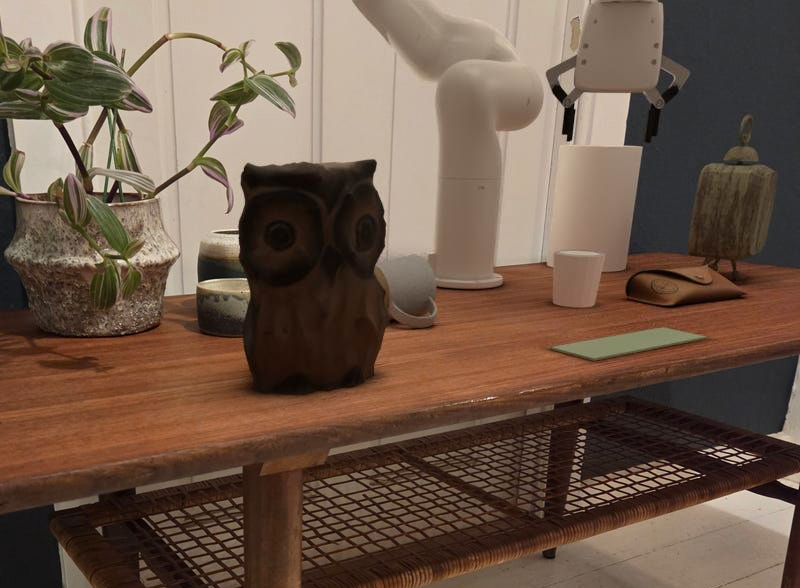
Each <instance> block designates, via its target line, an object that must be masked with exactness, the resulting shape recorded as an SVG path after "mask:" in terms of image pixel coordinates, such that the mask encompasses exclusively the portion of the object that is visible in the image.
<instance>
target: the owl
mask: <svg viewBox="0 0 800 588" xmlns="http://www.w3.org/2000/svg"><path fill="white" fill-rule="evenodd" d="M377 166H378V162H377V159H375V158H368V159H360V160H356V161H349V162H348V161H346V162H337V161H330V162H320V163H319V162H317V163H313V162H308V161H300V162H291V163H284V164H281V165H280V164H273V163H272V164H267V165H261V166H260V165H256V164H253V163H250V162H247V163H245V165H244V166H243V171H241V173H240V183H239V185H240V187H241V190H242V193H243V198H244V205H243V208H242V211H241V214H240V216H239V219H238V224H237V229H238V246H239V253H238V261H239V264H240V266H241V267H242V269H243V272H244V274H245V278H246V281H247V286H248V288H249V301H248V305H247V308H246V312H245V316H244V320H243V331H242V341H243V342H242V343H243V350H244V355H245V359H246V362H247V366H248V369H249V372H250V375H251V377H252V387H253V389H254V390H255V391H256V392H258V393H261V394H275V395H294V396H298V395H308V394H311V393H314V392H317V391H318V392H319V391H325V392H329V391H333V390H335V389H339V388H344V387H346V388H354V387H356V386H358V385H361V384H364V383H365V381H366V380H367V379H368V378H370V377H372V376H374V375H375V364H376V361H377V358H378V355H379V353H380V352H381V349H382V346H383V345H382V344H383V340H384V337H385V333H386V329H387V327H388V326H389V324H390V321H391V320H390V318H389V314H388V309H387V307H386V306H385V299H384V298H385V295H386V291H385V290H384V288H383V287H382V286H381V284H380V282H378V280H377V278H376V276H375V274H374V268H375V265H376V263H377V261H379V259H380V257H381V255H382V253H383V252H384V250H385V248H386V237H387V222H386V220H385V208H384V204H383V201H382V199H381V197H380V193H379V191H378V190H377V189H376V187H375V185H374V178H375V177H374V176H375V173H376V171H377Z"/></svg>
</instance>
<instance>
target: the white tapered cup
mask: <svg viewBox="0 0 800 588" xmlns="http://www.w3.org/2000/svg"><path fill="white" fill-rule="evenodd" d="M604 260H605V254H604V253H600V252H596V251H588V250H560V251H555V252H554V264H553V267H552V268H553V270H552V271H553V272H552V273H553V274H552V304H554V305H556V306H560V307H566V308H578V309H579V308H591V307H594V306H595V305H596V300H597V295H598V290H599V286H600V282H601V277H602V273H603V272H602V269H603V264H604Z"/></svg>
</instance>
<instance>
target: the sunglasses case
mask: <svg viewBox="0 0 800 588" xmlns="http://www.w3.org/2000/svg"><path fill="white" fill-rule="evenodd" d="M624 292H625V296H626V297H627V299H628V300H632V301H635V302H638V303H642V304H647V305H653V306H663V307H664V306H665V307H666V306H668V307H669V306H670V307H671V306H672V307H673V306H677V305H682V304H694V303H696V304H697V303H705V302H717V301H719V302H720V301H724V300H725V301H726V300H730V299H735V298H739V297H742V296H746V295H749V292H747V291H745V290H744V289H743V288H741V287H740V286H738V285H736V284H735V283H733V282H732V281H730V280H729V279H728V278H726V277H725V276H723V275H722V274H720V273H718V271H714V270H712V269H711V265H710V263H709V264H707V265H705V266H688V267H675V268H668V269H663V268H649V269H643V270H639V271H637V272H635V273H634V274H631V276H630V277H629V278H628V279H627V281H626V284H625V290H624Z"/></svg>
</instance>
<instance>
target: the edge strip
mask: <svg viewBox="0 0 800 588" xmlns="http://www.w3.org/2000/svg"><path fill="white" fill-rule="evenodd" d="M707 337H708V336H707V335H702V334H697V333H693V332H688V331H682V330H678V329H673V328H670V327H669V328H668V327H664V326H661V327H655V328H651V329H650V328H649V329H645V330H639V331H633V332H628V333H622V334H617V335H611V336H605V337H600V338H594V339H588V340H581V341H577V342H570V343H565V344H560V345H555V346H554V345H553V346H550V351H553V352H558V353H562V354H565V355H568V356H569V355H570V356H574V357H577V358H581V359H584V360H588V361H592V362H595V361H602V360H605V359H610V358H612V359H613V358H617V357H621V356H626V355H627V356H628V355H631V354H637V353H642V352H646V351H651V350H658V349H662V348H667V347H671V346H677V345H683V344H687V343H691V342H692V343H693V342H697V341H702V340H703V341H704V340H707Z"/></svg>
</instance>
